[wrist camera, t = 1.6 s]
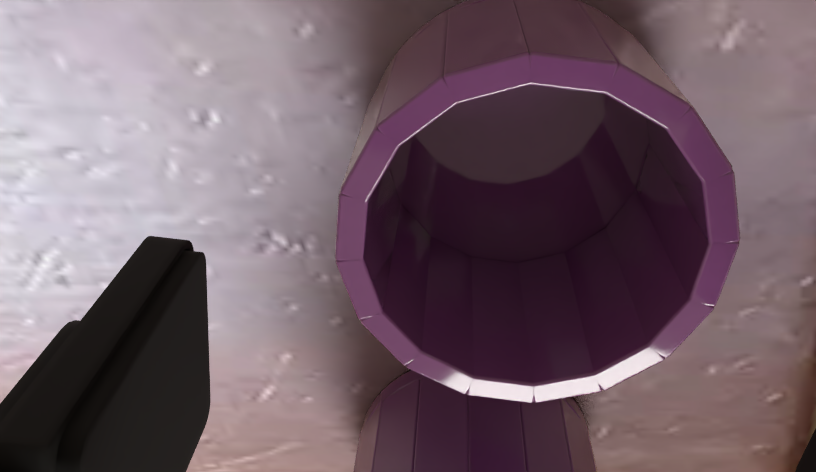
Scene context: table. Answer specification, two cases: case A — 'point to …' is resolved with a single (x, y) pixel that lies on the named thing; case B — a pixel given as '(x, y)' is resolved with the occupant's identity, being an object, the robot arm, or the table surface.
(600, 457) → the table surface
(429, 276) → the plum dish
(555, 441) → the plum dish
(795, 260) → the table surface
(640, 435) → the table surface
